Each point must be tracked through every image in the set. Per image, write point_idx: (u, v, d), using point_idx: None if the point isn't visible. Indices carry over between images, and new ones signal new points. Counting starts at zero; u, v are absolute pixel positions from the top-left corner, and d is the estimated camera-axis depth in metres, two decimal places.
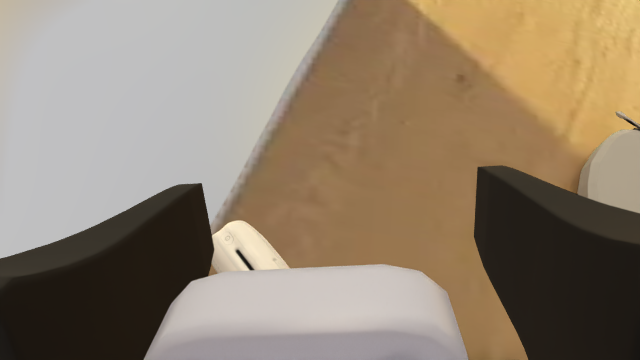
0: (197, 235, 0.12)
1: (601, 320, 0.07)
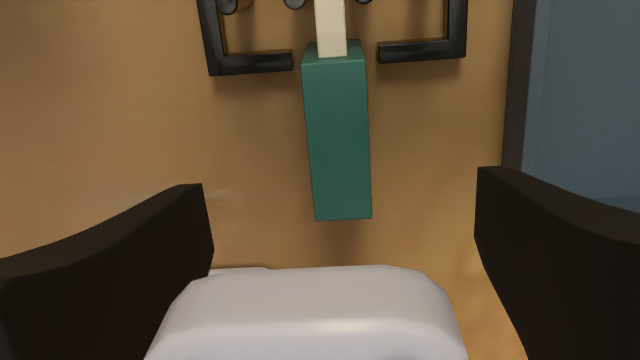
0: (197, 235, 0.12)
1: (601, 320, 0.07)
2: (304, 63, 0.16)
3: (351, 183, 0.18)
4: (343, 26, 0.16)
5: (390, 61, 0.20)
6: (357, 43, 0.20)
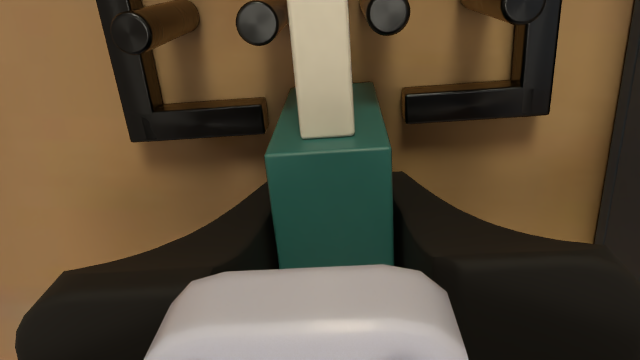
0: None
1: None
2: (272, 152, 0.09)
3: None
4: (347, 81, 0.08)
5: (424, 121, 0.12)
6: (370, 94, 0.12)
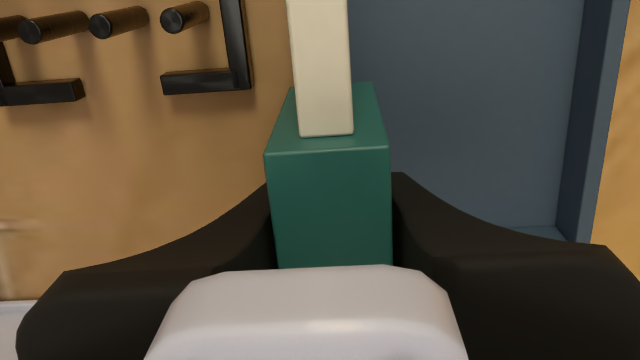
0: None
1: None
2: (271, 151, 0.08)
3: None
4: (345, 80, 0.08)
5: (174, 92, 0.20)
6: (369, 94, 0.12)
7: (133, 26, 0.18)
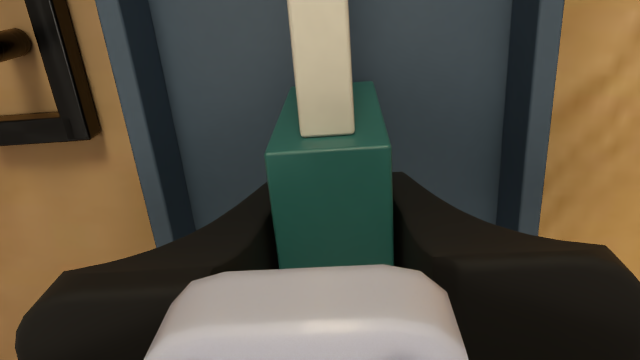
0: None
1: None
2: (272, 151, 0.08)
3: None
4: (347, 79, 0.08)
5: None
6: (370, 93, 0.12)
7: None
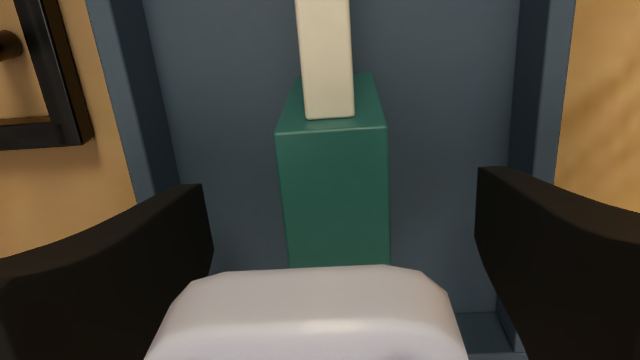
0: (197, 235, 0.12)
1: (601, 320, 0.07)
2: (280, 131, 0.09)
3: None
4: (348, 66, 0.09)
5: None
6: (369, 83, 0.12)
7: None
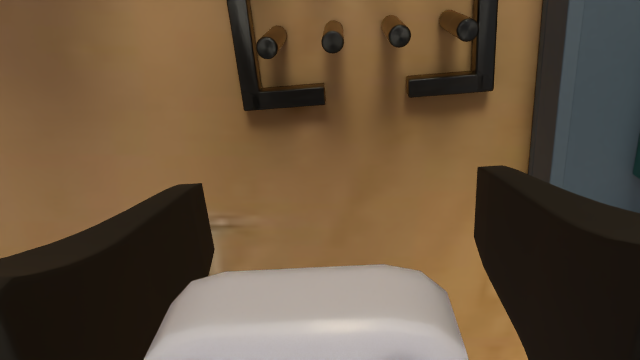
0: (197, 235, 0.12)
1: (601, 320, 0.07)
2: None
3: None
4: None
5: (420, 95, 0.21)
6: None
7: None
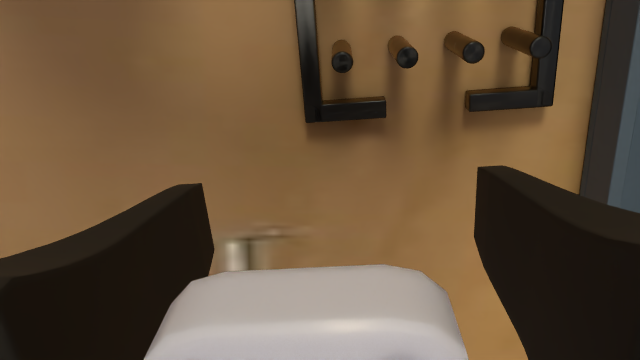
0: (197, 235, 0.12)
1: (601, 320, 0.07)
2: None
3: None
4: None
5: (480, 109, 0.21)
6: None
7: None
